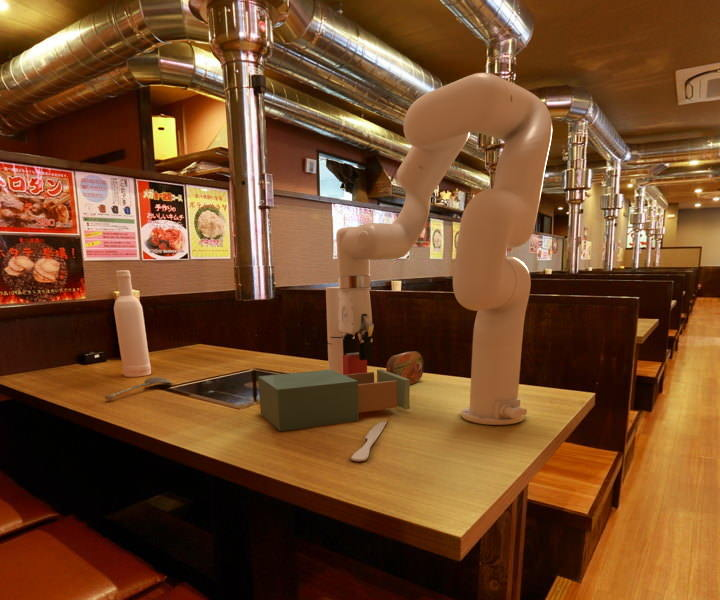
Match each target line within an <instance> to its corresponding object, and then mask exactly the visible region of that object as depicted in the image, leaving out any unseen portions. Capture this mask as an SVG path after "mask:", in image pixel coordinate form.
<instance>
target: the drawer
mask: <svg viewBox="0 0 720 600" xmlns="http://www.w3.org/2000/svg"><path fill="white" fill-rule="evenodd" d="M345 376H347V377H350V378H352V379H354V380H357V381H358V413H366V412H367V413H368V412H373V411H374V412H375V411H382V410H390V409H397V408H398V407H399V408H401V409H403V410H409V409H410V396H411V395H410V391H411V390H410V389H411V385H410V379H407V378H404V377H401V376H399V375H396V374H393V373H390V372H387V371H386V369H385V370H384V369H381V368H379V369H377V370H376V382H375V372H374V371H367V373H357V374H347V375H345Z"/></svg>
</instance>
